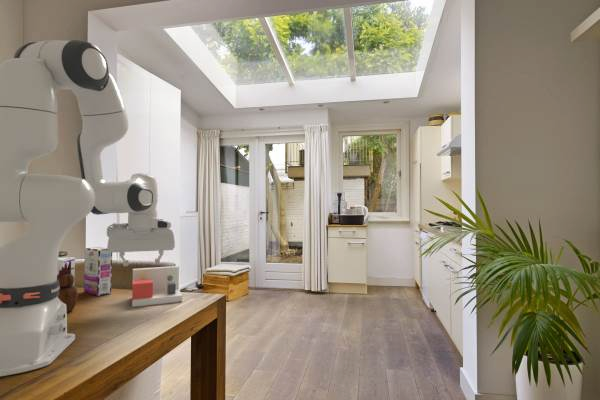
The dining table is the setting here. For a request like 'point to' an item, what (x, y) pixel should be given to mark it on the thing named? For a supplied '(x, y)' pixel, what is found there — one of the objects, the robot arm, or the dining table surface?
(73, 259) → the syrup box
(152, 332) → the dining table surface
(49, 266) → the robot arm
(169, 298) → the breaker panel
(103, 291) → the candy bar box
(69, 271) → the wooden figurine
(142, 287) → the cap
